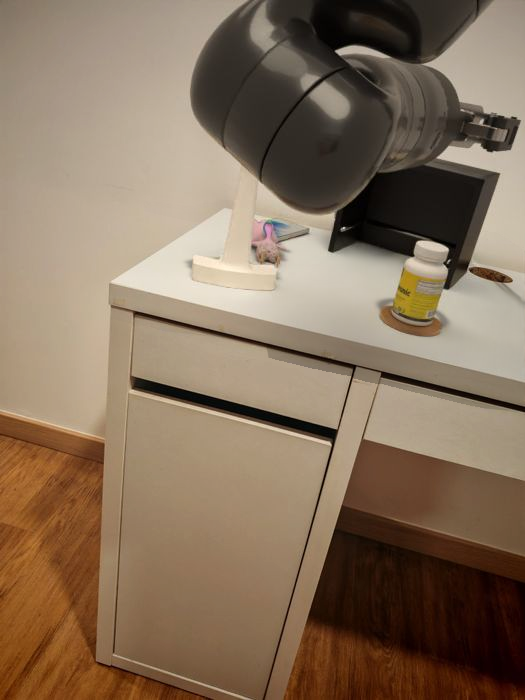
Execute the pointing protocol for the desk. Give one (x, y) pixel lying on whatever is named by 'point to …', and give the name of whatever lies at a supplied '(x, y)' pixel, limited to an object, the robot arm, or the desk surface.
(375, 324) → the desk surface
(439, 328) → the cork trivet
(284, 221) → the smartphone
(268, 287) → the joystick
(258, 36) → the robot arm
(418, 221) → the black open shelf
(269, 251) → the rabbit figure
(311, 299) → the desk surface
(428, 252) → the supplement bottle
